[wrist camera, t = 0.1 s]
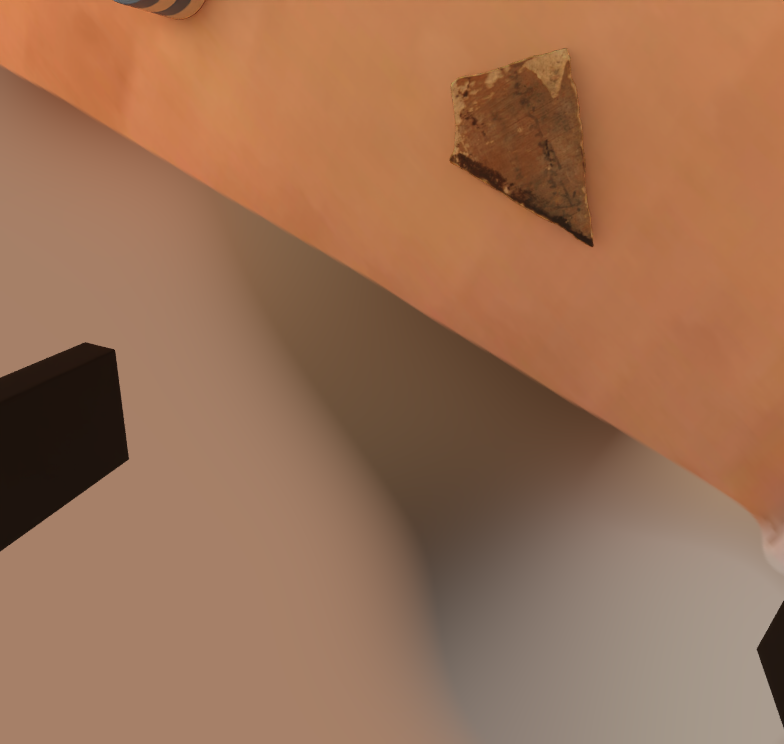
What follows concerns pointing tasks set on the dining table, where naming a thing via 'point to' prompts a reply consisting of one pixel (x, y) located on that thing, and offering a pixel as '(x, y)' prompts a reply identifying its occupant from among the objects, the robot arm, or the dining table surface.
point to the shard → (526, 137)
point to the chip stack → (167, 7)
